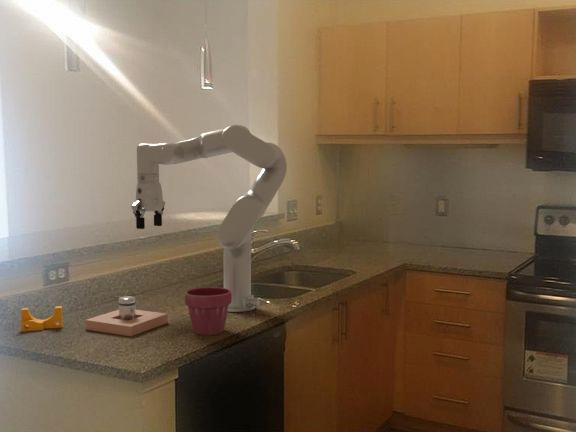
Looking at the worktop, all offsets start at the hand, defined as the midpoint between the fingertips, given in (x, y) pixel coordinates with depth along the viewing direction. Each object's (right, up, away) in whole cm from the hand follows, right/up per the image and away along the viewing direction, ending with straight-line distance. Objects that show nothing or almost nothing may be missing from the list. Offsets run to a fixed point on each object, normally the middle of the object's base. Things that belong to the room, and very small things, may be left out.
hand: (149, 227), depth 248 cm
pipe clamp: (-28, -32, -27) cm, 51 cm away
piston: (-2, -31, -25) cm, 40 cm away
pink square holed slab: (-2, -31, -25) cm, 40 cm away
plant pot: (+25, -32, -32) cm, 52 cm away
